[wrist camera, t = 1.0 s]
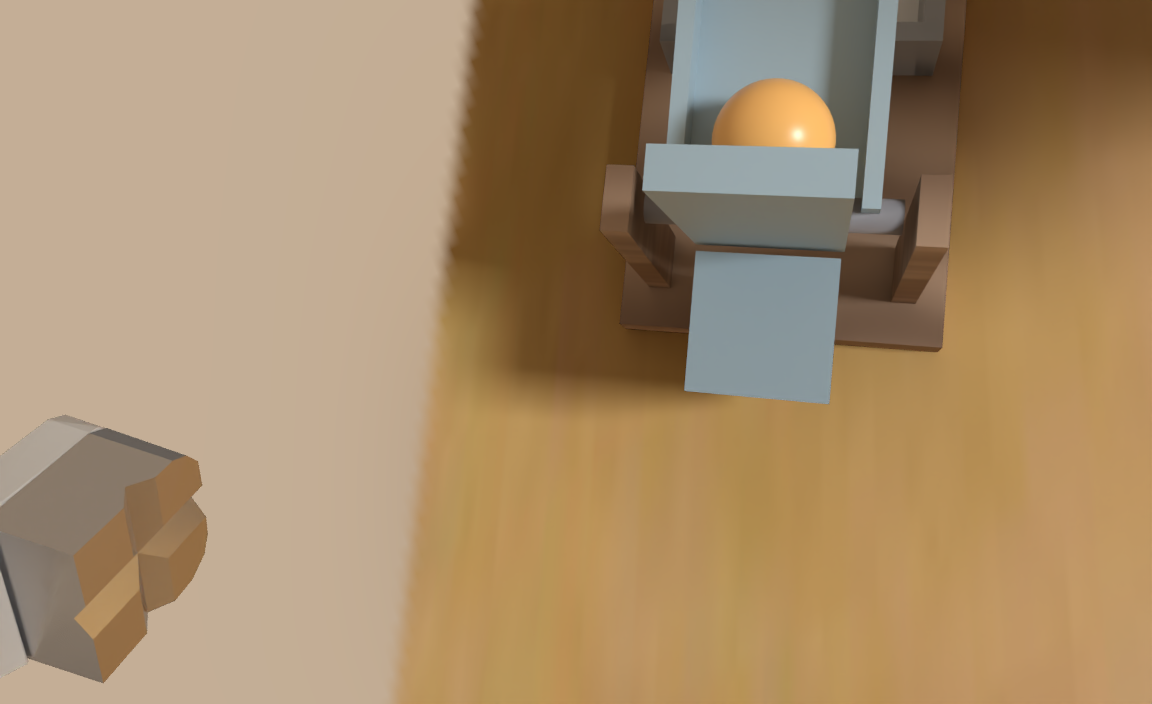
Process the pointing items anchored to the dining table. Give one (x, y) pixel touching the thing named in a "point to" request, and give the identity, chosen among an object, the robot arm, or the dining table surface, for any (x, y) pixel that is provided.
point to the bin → (912, 41)
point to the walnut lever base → (868, 266)
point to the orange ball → (775, 117)
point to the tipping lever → (773, 185)
